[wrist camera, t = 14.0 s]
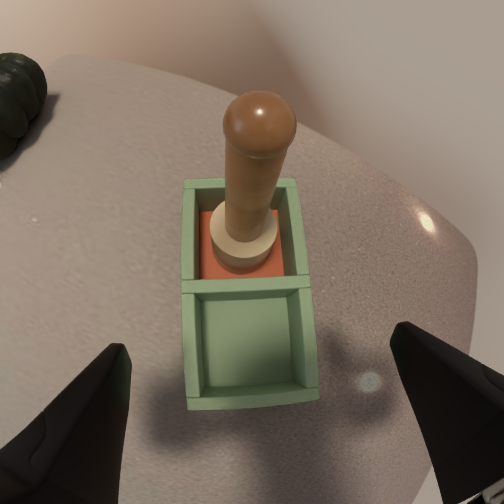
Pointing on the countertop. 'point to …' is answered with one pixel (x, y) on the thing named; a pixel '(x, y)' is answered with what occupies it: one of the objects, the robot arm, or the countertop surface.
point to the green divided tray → (246, 311)
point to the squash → (18, 97)
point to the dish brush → (251, 179)
